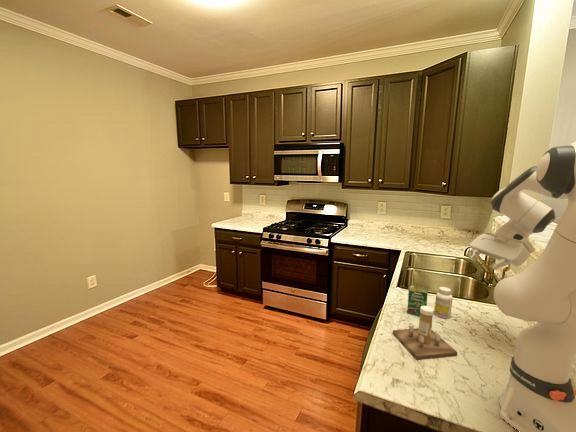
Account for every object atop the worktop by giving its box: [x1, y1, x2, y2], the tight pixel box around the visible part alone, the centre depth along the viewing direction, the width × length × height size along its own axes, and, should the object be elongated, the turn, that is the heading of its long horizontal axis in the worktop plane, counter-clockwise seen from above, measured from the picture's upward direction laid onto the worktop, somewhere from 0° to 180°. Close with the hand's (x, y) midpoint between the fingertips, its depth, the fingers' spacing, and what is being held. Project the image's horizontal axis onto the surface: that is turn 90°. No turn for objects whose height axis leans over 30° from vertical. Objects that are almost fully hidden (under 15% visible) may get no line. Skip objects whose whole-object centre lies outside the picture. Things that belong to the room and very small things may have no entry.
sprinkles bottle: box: [418, 305, 435, 344], centre depth 106 cm, size 5×5×13 cm
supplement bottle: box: [434, 286, 454, 319], centre depth 128 cm, size 7×7×13 cm
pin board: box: [392, 325, 458, 361], centre depth 107 cm, size 16×16×6 cm
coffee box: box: [406, 285, 429, 317], centre depth 128 cm, size 8×3×13 cm, turn 57°
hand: (482, 264), depth 106 cm, fingers open, 8 cm apart
